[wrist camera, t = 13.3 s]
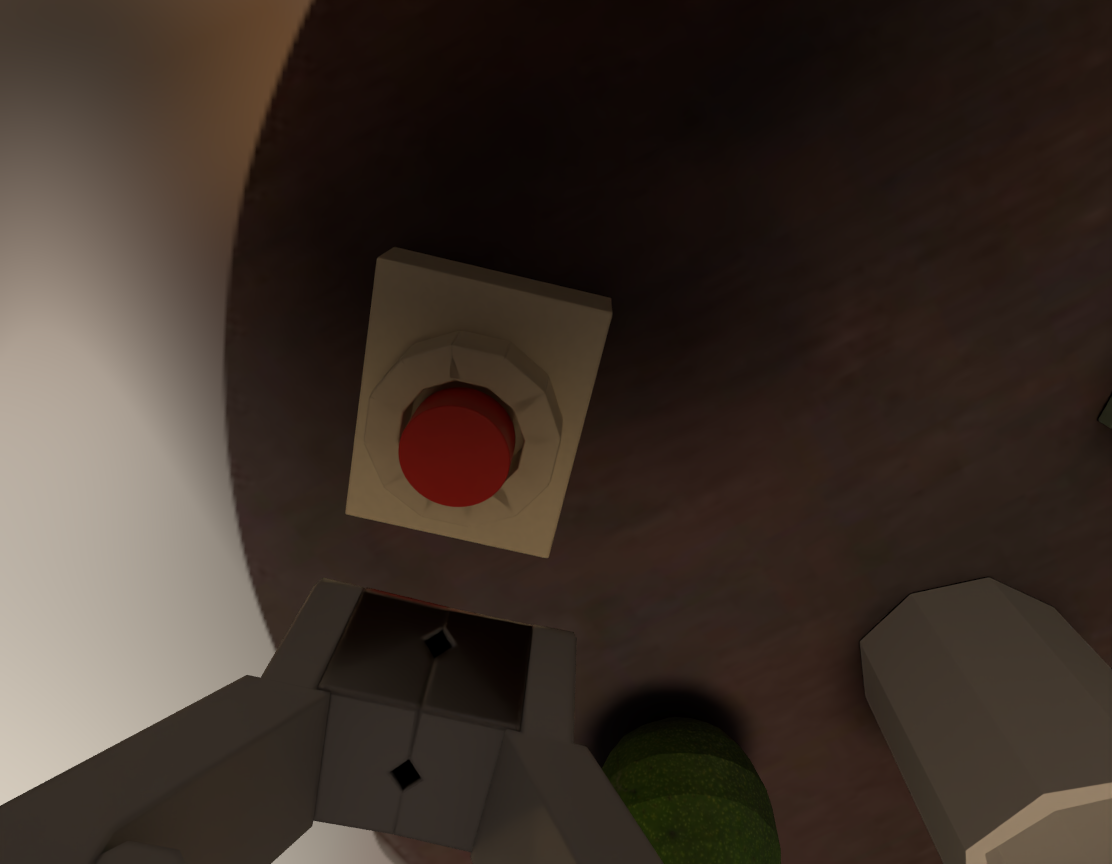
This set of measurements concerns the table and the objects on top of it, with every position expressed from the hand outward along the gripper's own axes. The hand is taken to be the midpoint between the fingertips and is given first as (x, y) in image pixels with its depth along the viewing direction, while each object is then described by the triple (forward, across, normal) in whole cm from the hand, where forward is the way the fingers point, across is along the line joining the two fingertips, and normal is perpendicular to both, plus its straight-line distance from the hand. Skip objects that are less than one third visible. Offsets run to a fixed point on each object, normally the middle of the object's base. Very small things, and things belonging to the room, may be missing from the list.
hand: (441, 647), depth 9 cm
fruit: (+19, -11, +20) cm, 30 cm away
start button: (+16, +1, +5) cm, 16 cm away
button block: (+19, +1, +5) cm, 20 cm away
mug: (+19, -23, +13) cm, 32 cm away
